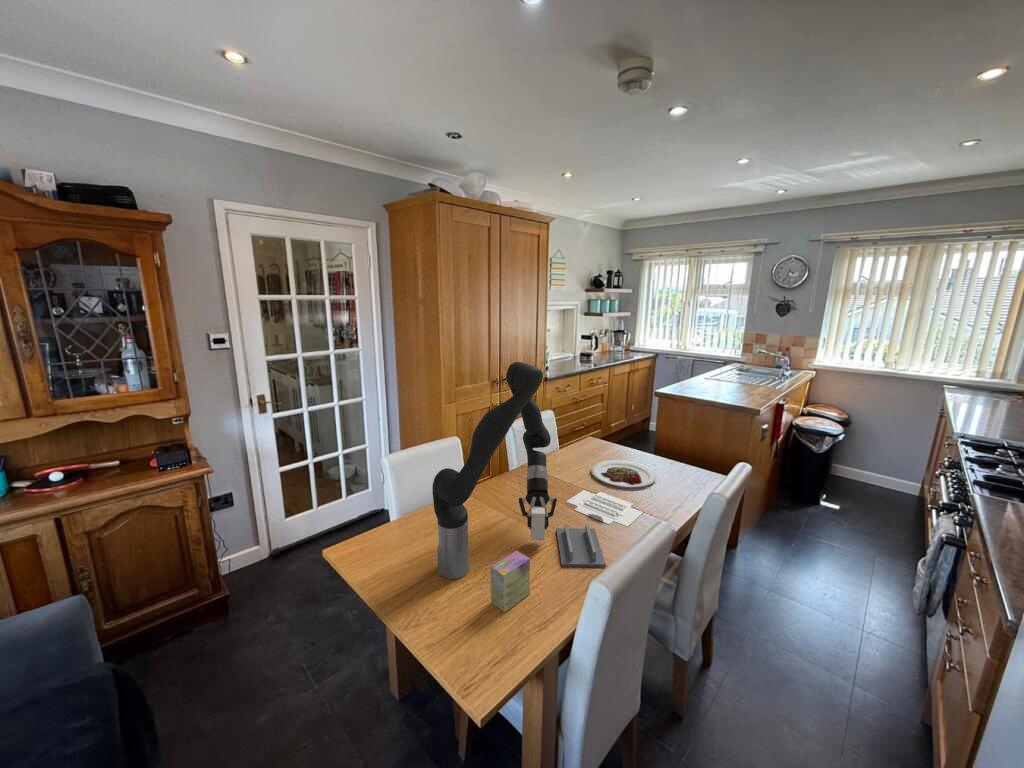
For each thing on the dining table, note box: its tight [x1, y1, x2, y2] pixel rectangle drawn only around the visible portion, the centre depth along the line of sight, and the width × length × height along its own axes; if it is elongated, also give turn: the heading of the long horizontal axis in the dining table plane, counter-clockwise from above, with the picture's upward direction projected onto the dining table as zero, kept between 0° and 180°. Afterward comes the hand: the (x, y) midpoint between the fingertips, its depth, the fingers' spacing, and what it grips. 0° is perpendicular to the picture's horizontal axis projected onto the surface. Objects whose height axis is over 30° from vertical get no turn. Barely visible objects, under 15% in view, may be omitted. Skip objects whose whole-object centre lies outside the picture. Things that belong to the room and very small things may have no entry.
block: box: [530, 507, 546, 541], centre depth 139 cm, size 4×4×10 cm
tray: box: [565, 489, 645, 528], centre depth 164 cm, size 20×28×4 cm
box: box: [490, 550, 531, 613], centre depth 114 cm, size 10×6×12 cm, turn 134°
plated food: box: [590, 459, 657, 489], centre depth 193 cm, size 30×30×3 cm
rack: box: [555, 523, 607, 568], centre depth 138 cm, size 14×20×4 cm
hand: (538, 528), depth 137 cm, fingers closed on block, 4 cm apart
